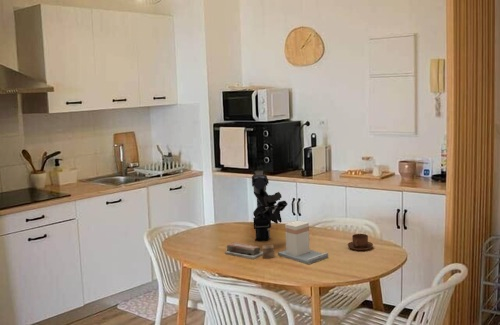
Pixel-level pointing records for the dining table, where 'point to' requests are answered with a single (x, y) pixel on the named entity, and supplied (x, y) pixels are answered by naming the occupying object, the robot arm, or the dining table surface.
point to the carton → (297, 238)
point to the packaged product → (243, 250)
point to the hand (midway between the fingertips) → (279, 222)
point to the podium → (305, 256)
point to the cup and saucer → (360, 242)
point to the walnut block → (268, 251)
